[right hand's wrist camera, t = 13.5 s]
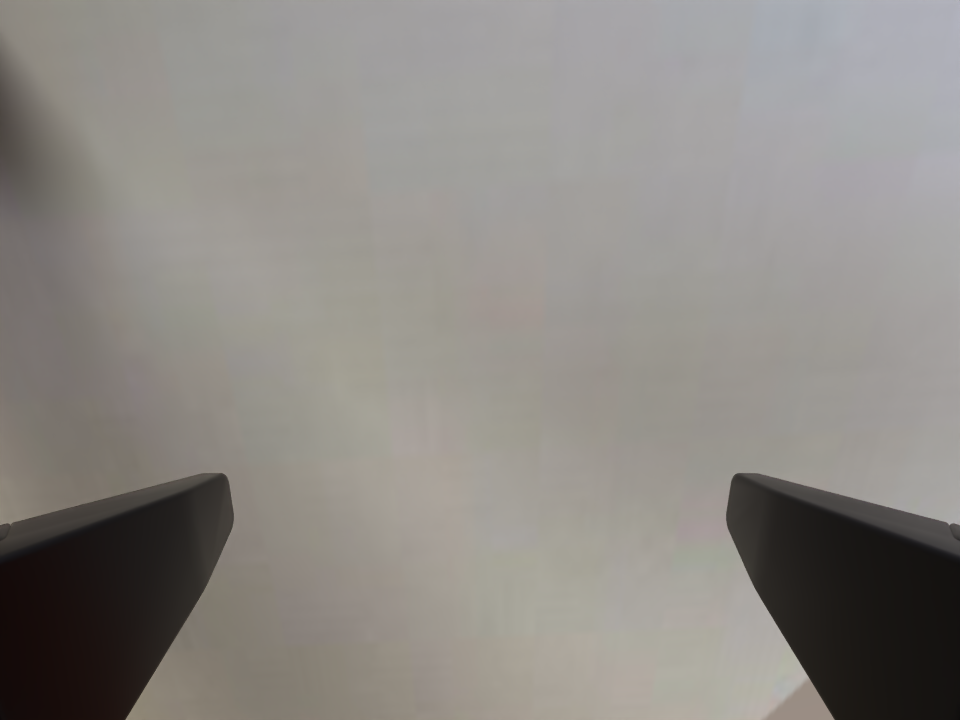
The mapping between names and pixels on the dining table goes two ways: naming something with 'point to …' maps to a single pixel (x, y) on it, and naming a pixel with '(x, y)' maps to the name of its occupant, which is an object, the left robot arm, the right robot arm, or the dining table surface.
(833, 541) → the right robot arm
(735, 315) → the dining table surface
